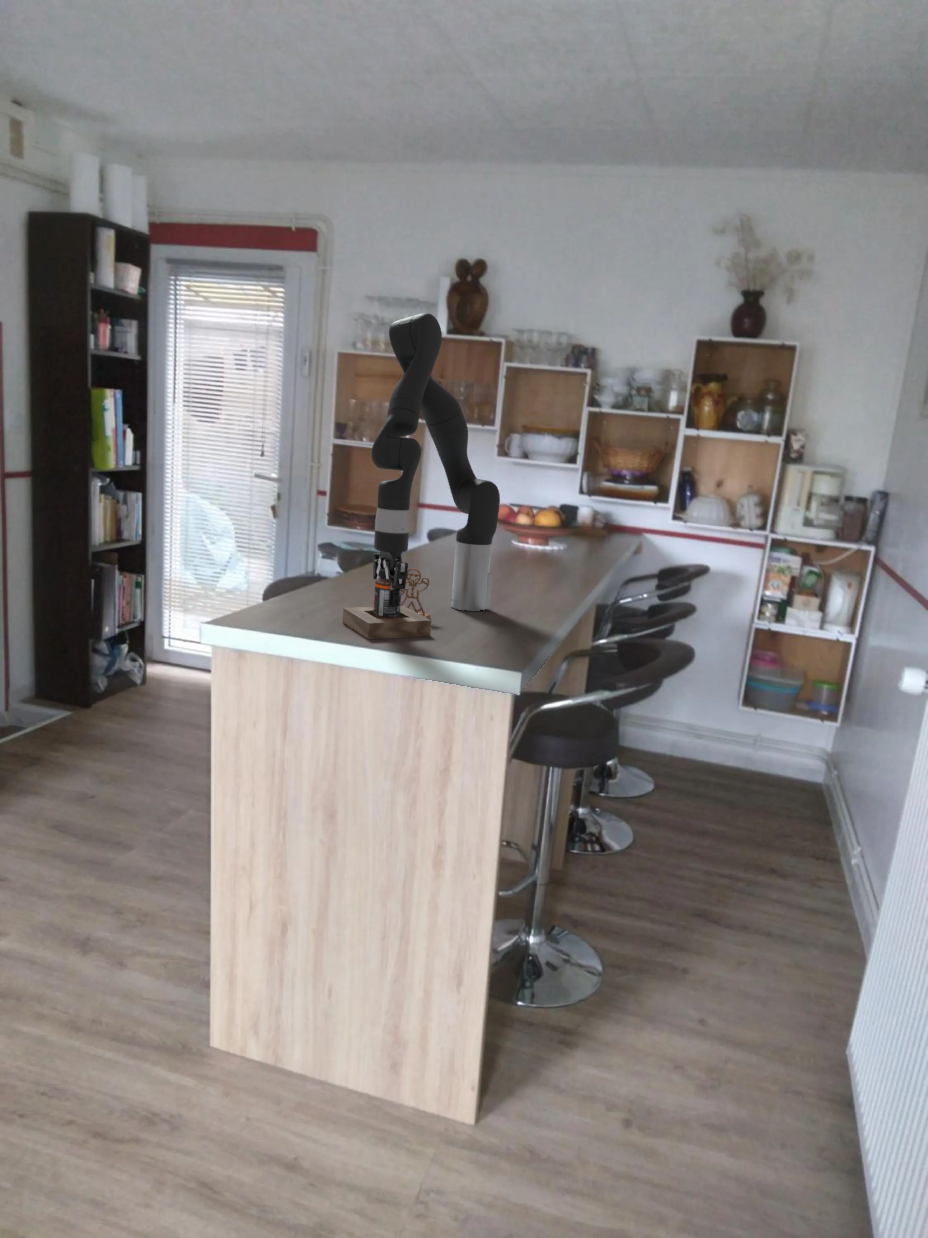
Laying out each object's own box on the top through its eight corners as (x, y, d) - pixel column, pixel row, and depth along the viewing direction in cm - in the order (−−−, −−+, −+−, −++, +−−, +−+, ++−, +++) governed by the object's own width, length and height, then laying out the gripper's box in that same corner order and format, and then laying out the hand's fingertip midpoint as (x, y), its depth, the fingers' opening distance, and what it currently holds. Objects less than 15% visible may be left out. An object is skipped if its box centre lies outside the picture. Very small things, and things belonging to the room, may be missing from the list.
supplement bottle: (373, 615, 197) (376, 566, 194) (399, 616, 197) (402, 567, 195) (372, 621, 191) (375, 570, 189) (399, 622, 192) (402, 572, 189)
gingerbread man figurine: (390, 616, 208) (393, 567, 205) (396, 613, 212) (399, 565, 209) (425, 621, 206) (428, 571, 203) (430, 618, 209) (434, 569, 207)
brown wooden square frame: (401, 620, 205) (402, 605, 204) (430, 635, 192) (431, 620, 191) (342, 622, 197) (343, 607, 197) (367, 639, 185) (368, 623, 184)
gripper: (421, 534, 186) (416, 610, 189) (394, 524, 198) (389, 596, 201) (389, 533, 182) (385, 611, 186) (363, 524, 194) (359, 597, 198)
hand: (387, 603), depth 194 cm, fingers closed on supplement bottle, 6 cm apart
